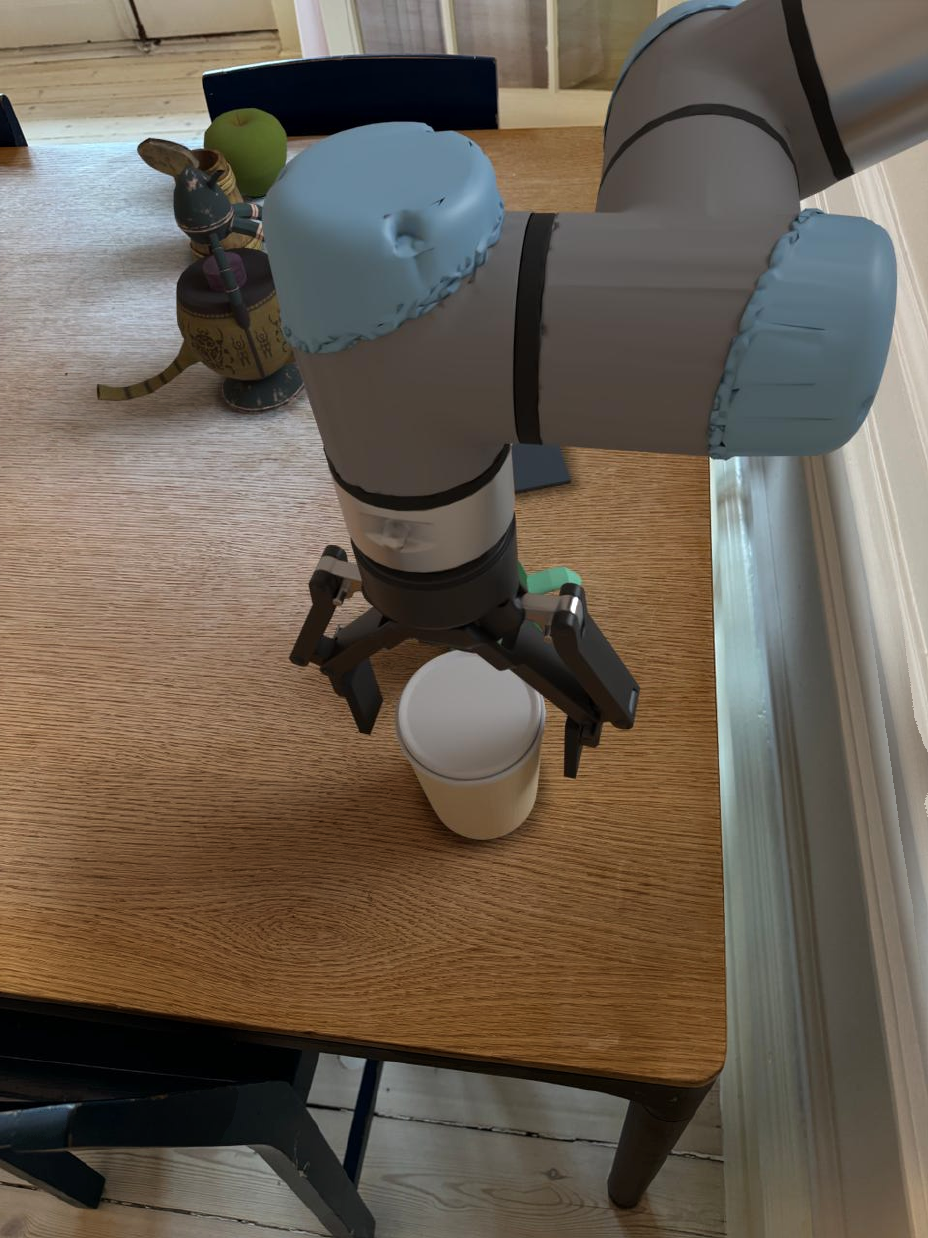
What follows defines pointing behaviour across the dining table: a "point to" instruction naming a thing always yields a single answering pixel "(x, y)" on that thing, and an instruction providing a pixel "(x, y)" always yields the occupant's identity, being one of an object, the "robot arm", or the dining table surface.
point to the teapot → (225, 306)
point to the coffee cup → (473, 742)
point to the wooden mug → (208, 160)
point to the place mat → (538, 467)
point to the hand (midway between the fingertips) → (470, 737)
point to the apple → (249, 148)
